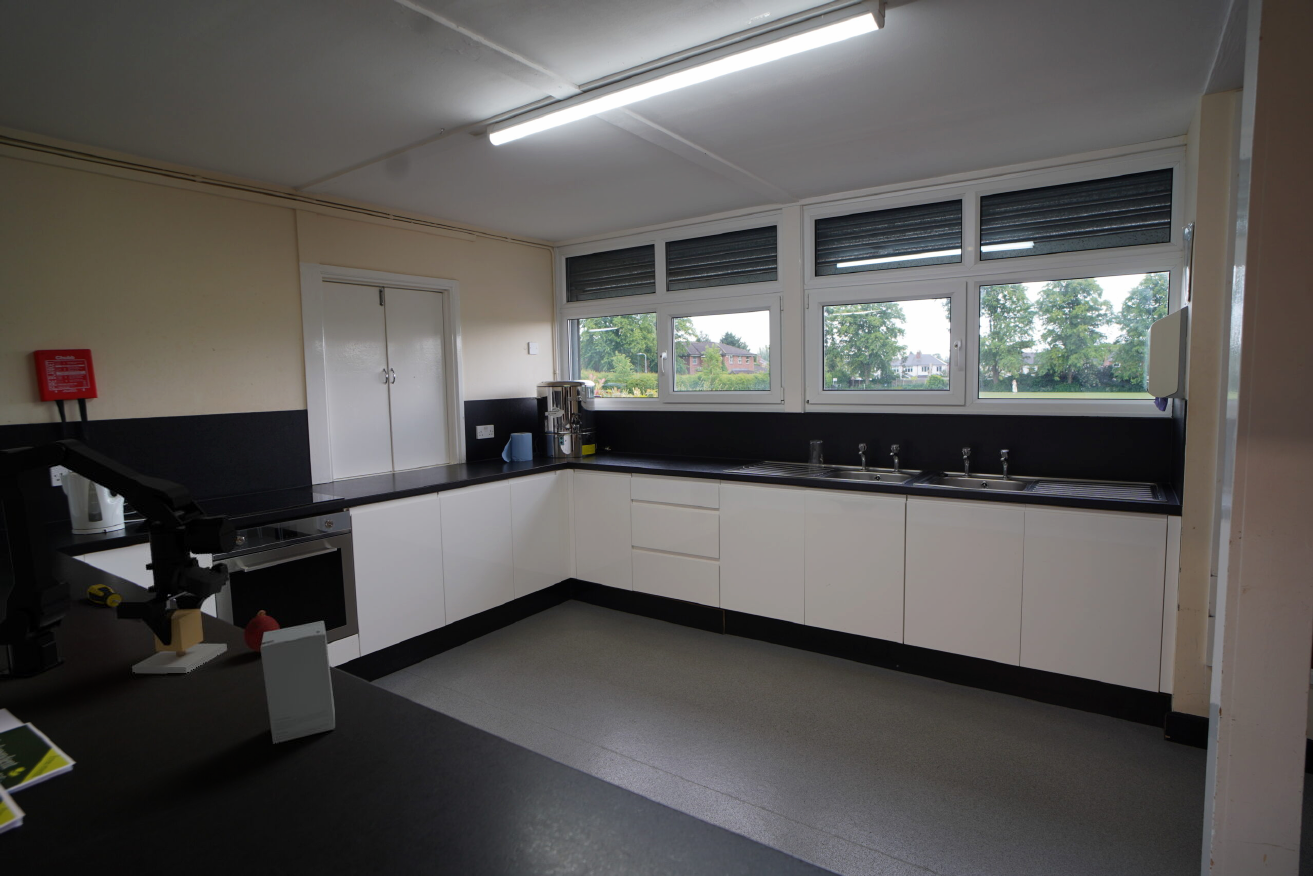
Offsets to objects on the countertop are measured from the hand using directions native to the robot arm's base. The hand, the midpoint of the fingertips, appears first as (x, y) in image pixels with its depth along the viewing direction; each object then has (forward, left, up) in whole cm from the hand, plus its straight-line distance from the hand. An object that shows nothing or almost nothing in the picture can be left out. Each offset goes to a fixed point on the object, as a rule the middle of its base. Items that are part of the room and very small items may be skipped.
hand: (179, 639), depth 123 cm
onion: (+13, +4, -4) cm, 14 cm away
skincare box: (+37, -22, -4) cm, 43 cm away
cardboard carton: (0, 0, -1) cm, 1 cm away
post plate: (0, 0, -4) cm, 4 cm away
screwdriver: (-37, +27, -5) cm, 46 cm away
